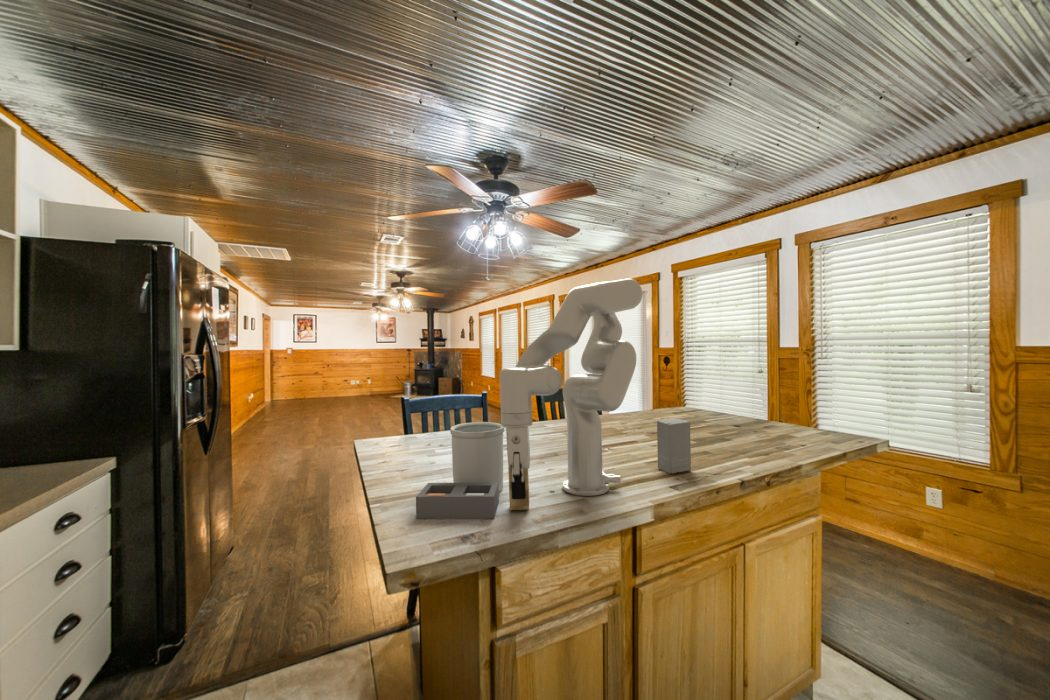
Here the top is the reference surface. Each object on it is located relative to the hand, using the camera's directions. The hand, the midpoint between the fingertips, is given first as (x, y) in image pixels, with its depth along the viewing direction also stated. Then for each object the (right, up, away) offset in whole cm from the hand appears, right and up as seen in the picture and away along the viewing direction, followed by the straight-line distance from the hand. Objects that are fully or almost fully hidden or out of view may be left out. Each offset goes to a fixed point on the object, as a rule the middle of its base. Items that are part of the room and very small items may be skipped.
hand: (519, 493), depth 95 cm
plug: (0, -3, 0) cm, 3 cm away
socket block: (-14, -4, 0) cm, 15 cm away
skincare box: (+49, -4, +30) cm, 57 cm away
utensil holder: (-12, -4, +15) cm, 19 cm away
